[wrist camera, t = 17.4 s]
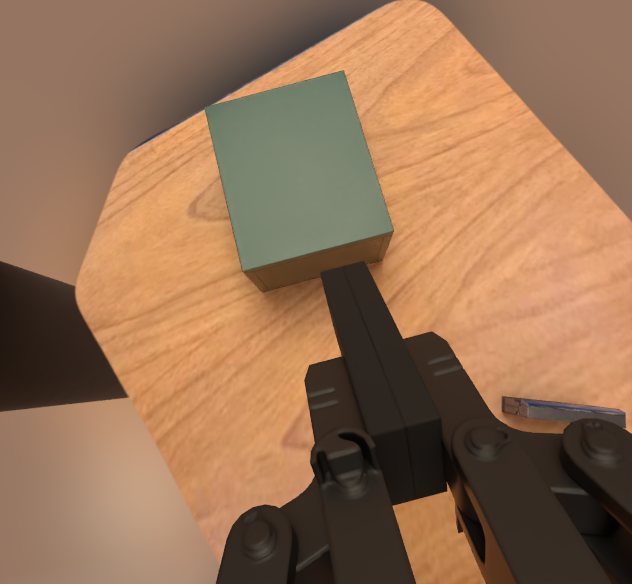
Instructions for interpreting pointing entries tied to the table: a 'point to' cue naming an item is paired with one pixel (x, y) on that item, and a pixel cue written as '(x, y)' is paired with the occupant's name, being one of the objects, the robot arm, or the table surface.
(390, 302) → the table surface
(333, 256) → the bin
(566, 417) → the mini dv tape
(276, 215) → the bin lid
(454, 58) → the table surface
